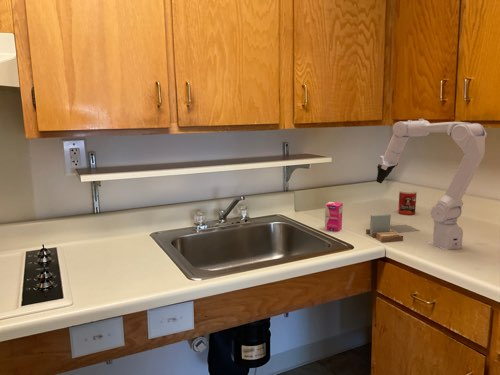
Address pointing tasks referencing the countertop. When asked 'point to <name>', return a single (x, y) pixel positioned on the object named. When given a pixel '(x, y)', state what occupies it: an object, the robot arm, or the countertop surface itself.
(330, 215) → the supplement box
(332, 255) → the countertop surface
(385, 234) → the upper offcut
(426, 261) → the countertop surface
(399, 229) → the rubber mat
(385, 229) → the grey square slab
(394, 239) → the walnut rack
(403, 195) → the canned food
